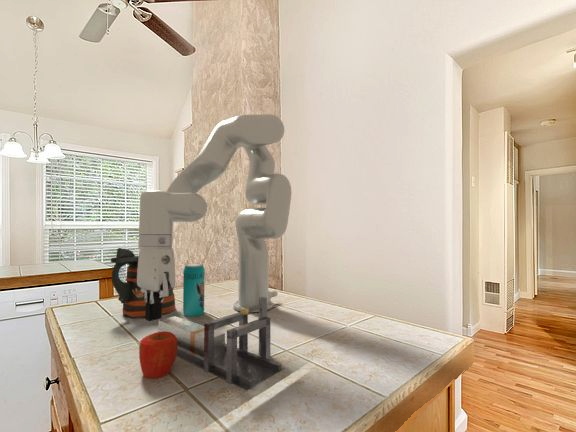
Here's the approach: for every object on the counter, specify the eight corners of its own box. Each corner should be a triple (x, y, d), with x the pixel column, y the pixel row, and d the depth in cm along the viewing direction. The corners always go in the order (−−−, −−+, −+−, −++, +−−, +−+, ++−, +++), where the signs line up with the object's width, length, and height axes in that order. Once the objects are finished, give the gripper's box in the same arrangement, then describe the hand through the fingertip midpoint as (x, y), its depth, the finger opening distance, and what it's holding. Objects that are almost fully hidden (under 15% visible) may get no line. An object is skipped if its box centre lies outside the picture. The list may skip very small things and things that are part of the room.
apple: (174, 385, 50) (174, 339, 51) (134, 389, 49) (134, 342, 49) (179, 367, 56) (180, 326, 57) (143, 370, 55) (144, 329, 55)
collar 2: (265, 366, 57) (265, 316, 57) (270, 368, 56) (270, 317, 56) (226, 387, 50) (226, 330, 50) (231, 389, 49) (231, 332, 49)
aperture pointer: (262, 356, 61) (262, 296, 61) (268, 359, 60) (268, 297, 60) (239, 368, 56) (239, 302, 56) (245, 370, 55) (245, 304, 55)
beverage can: (198, 321, 83) (198, 266, 84) (179, 319, 85) (179, 265, 85) (207, 314, 89) (208, 263, 89) (189, 313, 90) (190, 263, 91)
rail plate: (181, 333, 74) (181, 325, 74) (283, 374, 54) (283, 362, 54) (145, 345, 67) (145, 336, 67) (247, 396, 47) (247, 383, 47)
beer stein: (134, 326, 79) (135, 249, 80) (96, 319, 85) (97, 247, 85) (185, 307, 97) (185, 244, 97) (150, 303, 102) (151, 243, 103)
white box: (158, 338, 68) (158, 320, 68) (174, 333, 71) (175, 316, 71) (208, 360, 57) (208, 339, 57) (225, 353, 60) (225, 333, 60)
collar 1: (243, 357, 61) (243, 311, 61) (247, 359, 60) (247, 312, 60) (203, 375, 53) (204, 323, 54) (208, 378, 53) (208, 324, 53)
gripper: (187, 242, 72) (185, 322, 71) (155, 240, 81) (152, 310, 80) (156, 243, 66) (154, 330, 65) (125, 241, 75) (122, 316, 74)
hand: (153, 319), depth 72 cm, fingers closed
